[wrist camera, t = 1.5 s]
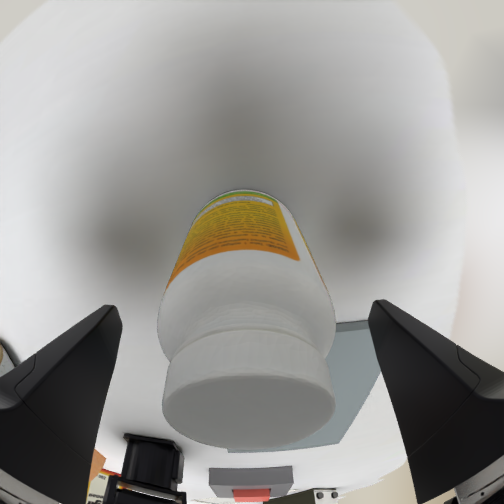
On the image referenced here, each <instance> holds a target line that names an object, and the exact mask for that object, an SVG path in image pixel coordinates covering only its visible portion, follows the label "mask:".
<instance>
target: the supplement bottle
mask: <svg viewBox="0 0 504 504" xmlns="http://www.w3.org/2000/svg"><path fill="white" fill-rule="evenodd" d="M157 331H158V337H159V341H160V344H161V347H162V350H163V352H164V354H165V356H166V357H167V359H168V360H169V362H170V365H169V368H168V372H167V377H166V383H165V388H164V394H163V400H162V410H163V414H164V417H165V419H166V420H167V422H168V423H169V424H170V425H171V426H172V427H173V428H174V429H175V430H176V431H178V432H179V433H181V434H182V435H184V436H186V437H188V438H190V439H192V440H194V441H197V442H200V443H203V444H206V445H211V446H215V447H220V448H226V449H237V450H257V449H267V448H274V447H279V446H283V445H287V444H291V443H294V442H297V441H299V440H302V439H304V438H306V437H308V436H310V435H312V434H314V433H315V432H317V431H318V430H320V429H321V428H322V427H324V426H325V425H326V424H327V423H328V422H329V420H330V419H331V417H332V416H333V414H334V411H335V406H336V400H335V395H334V391H333V387H332V383H331V379H330V374H329V368H328V365H327V362H326V361H325V358H326V356H327V355H328V353H329V351H330V349H331V347H332V344H333V341H334V337H335V331H336V319H335V312H334V308H333V305H332V302H331V298H330V295H329V293H328V290H327V288H326V286H325V284H324V281H323V279H322V277H321V275H320V273H319V270H318V268H317V266H316V264H315V262H314V259H313V257H312V255H311V253H310V251H309V249H308V246H307V244H306V242H305V240H304V237H303V236H302V233H301V231H300V229H299V227H298V225H297V223H296V221H295V219H294V218H293V216H292V215H291V213H290V212H289V210H288V209H287V208H286V207H285V206H284V205H283V204H282V203H281V202H280V201H278V200H277V199H275V198H274V197H272V196H270V195H268V194H265V193H262V192H258V191H254V190H235V191H230V192H226V193H224V194H221V195H219V196H217V197H215V198H214V199H212V200H211V201H210V202H208V203H207V204H206V205H205V206H204V207H203V208H202V209H201V210H200V212H199V213H198V215H197V216H196V218H195V220H194V221H193V223H192V226H191V228H190V230H189V233H188V235H187V238H186V240H185V242H184V245H183V247H182V250H181V252H180V255H179V257H178V260H177V262H176V265H175V267H174V270H173V272H172V275H171V277H170V280H169V282H168V285H167V287H166V290H165V293H164V295H163V298H162V302H161V306H160V309H159V314H158V321H157Z"/></svg>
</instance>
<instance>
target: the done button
mask: <svg viewBox="0 0 504 504" xmlns="http://www.w3.org/2000/svg"><path fill="white" fill-rule="evenodd" d="M233 493H234V500H235V502H261V501H269V498H270V490H269V489H233Z"/></svg>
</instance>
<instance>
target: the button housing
mask: <svg viewBox="0 0 504 504" xmlns="http://www.w3.org/2000/svg"><path fill="white" fill-rule="evenodd" d="M293 483H294V481H293V472H292V466H287V467H274V468H254V469H221V468H209V486H210V487H211V489H212V490H213V492H214V493H215V494H216V496H217V497H218V498H234V493H233V489H269V490H270V497H279V496H286V494H287V493H288V491H289V490H290V488H291V486H292V485H293Z"/></svg>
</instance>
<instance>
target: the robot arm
mask: <svg viewBox="0 0 504 504" xmlns="http://www.w3.org/2000/svg"><path fill="white" fill-rule="evenodd" d="M368 325H369V329H370V333H371V337H372V341H373V345H374V349H375V353H376V357H377V360H378V363H379V366H380V369H381V372H382V375H383V378H384V381H385V384H386V387H387V390H388V393H389V396H390V399H391V402H392V405H393V408H394V412H395V415H396V418H397V421H398V425H399V428H400V432H401V435H402V439H403V443H404V446H405V450H406V454H407V457H408V458H407V459H408V463H409V466H410V471H411V475H412V479H413V484H414V488H415V494H416V499H417V503H418V504H423V503H425V502H427V501H429V500H431V499H433V498H435V497H437V496H439V495H441V494H443V493H445V492H447V491H449V490H451V489H453V488H454V490H455V493H456V496H455V497H453V498H451V499H450V500H448V501H446V502H444V504H504V372H502V371H501V370H499V369H497V368H495V367H493V366H492V365H490V364H488V363H486V362H484V361H483V360H481V359H479V358H477V357H476V356H474V355H472V354H471V353H469V352H468V351H466V350H464V349H463V348H461V347H460V346H458V345H456V344H455V343H454V342H452V341H451V340H449V339H448V338H446V337H444V336H443V335H441V334H440V333H438V332H437V331H435V330H433V329H432V328H430V327H429V326H427V325H426V324H424V323H422V322H421V321H419V320H418V319H416V318H414V317H413V316H411V315H410V314H408V313H406V312H405V311H403V310H401V309H400V308H398V307H397V306H395V305H393V304H392V303H390V302H388V301H387V300H385V299H381V300H375V301H374V302H373V304H372V307H371V311H370V314H369V317H368ZM121 333H122V321H121V319H120V316H119V313H118V310H117V308H116V306H114V305H104V306H102V307H101V308H99V309H98V310H96V311H95V312H93V313H92V314H90V315H89V316H87V317H86V318H84V319H83V320H81V321H80V322H79V323H77V324H76V325H74V326H73V327H71V328H70V329H69V330H67V331H66V332H64V333H63V334H61V335H60V336H59V337H57V338H56V339H54V340H53V341H52V342H50V343H49V344H47V345H46V346H45V347H43V348H42V349H40V350H39V351H38V352H37V353H35V354H33V355H32V356H31V357H29V358H28V359H27V360H25V361H24V362H22V363H21V364H20V365H18V366H17V367H15V368H13V369H12V370H10V371H9V372H7V373H6V374H4V375H3V376H1V377H0V504H59V503H61V504H86V499H87V491H88V484H89V477H90V471H91V464H92V458H93V453H94V448H95V443H96V438H97V433H98V429H99V424H100V420H101V416H102V412H103V408H104V404H105V400H106V396H107V392H108V389H109V385H110V381H111V378H112V374H113V371H114V367H115V363H116V359H117V353H118V348H119V343H120V338H121ZM123 438H124V439H125V440H126V441H127V442H128V445H127V449H126V454H125V458H124V463H123V468H122V473H121V477H120V476H119V475H116V474H114V475H109V477H108V482H107V486H106V490H105V494H104V497H103V501H102V504H187V501H186V492H178V491H177V484H181V483H182V478H183V467H184V456H183V455H182V453H181V452H180V451H179V450H178V448H177V446H176V445H175V443H174V442H172V441H166V440H158V439H151V438H145V437H139V436H133V435H128V434H124V436H123ZM118 485H119V486H122V487H125V488H128V489H125V488H123V489H120V488H118ZM129 489H132V490H135V491H139V492H143V493H146V494H143V493H139V492H135V491H132V490H129ZM147 494H150V495H147ZM151 495H155V496H159V497H163V498H159V497H155V496H151ZM164 498H168V499H164ZM169 499H173V500H169ZM174 500H175V501H174Z"/></svg>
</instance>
